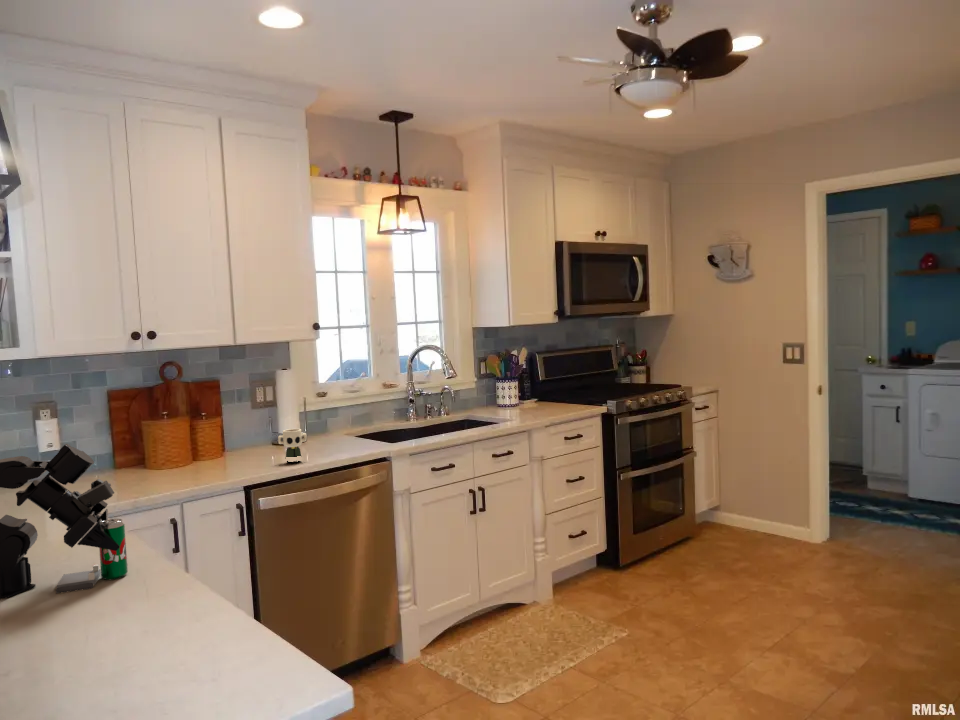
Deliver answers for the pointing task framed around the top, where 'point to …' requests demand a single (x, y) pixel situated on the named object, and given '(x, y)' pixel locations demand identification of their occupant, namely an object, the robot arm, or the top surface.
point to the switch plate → (80, 577)
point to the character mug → (292, 441)
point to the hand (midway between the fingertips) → (119, 545)
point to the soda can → (114, 560)
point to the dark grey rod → (74, 587)
